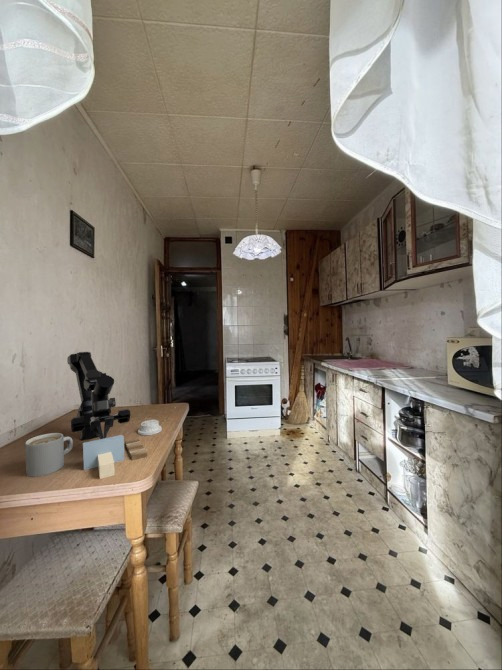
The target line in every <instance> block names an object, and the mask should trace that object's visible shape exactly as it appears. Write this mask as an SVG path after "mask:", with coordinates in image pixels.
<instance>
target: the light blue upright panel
mask: <svg viewBox="0 0 502 670" xmlns="http://www.w3.org/2000/svg"><path fill="white" fill-rule="evenodd" d="M82 449H83V450H82V451H83V452H82V453H83V456H82V457H83V458H82V459H83V470H84V471H86V470H90V469H94V468H98V475H99V479H100V480H101V479H105V478H110V477H113V476H116V474H115V473H116V472H115V463H118V462H119V463H120V462H123V461H125V436H124V435H123V434H120V435H115V436H114V435H113V436H110V437H109V436H108V437H106V438H104V439H100V438H99V439H95V440H91V441H85V442H83V443H82Z"/></svg>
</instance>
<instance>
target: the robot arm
mask: <svg viewBox="0 0 502 670" xmlns="http://www.w3.org/2000/svg"><path fill="white" fill-rule="evenodd" d="M66 359H67V365H69V368H70V370H71V371H72V372H73V373H74V374H75V377H76V383H77V387H78V392H79V396H80V402H81V403H80V405H79V407H78V411H77V414H76V416H74V417H72V418H71V419H70V426H71V427H70V429H71V431H70V432H71V433H76V432H77V433H79V432H81V434H80V437H79V438H80V441H84V440H89V439H94V438H99V439H104V438H108V437H107V436H108V433H109V431H110V429H111V428H113V427H114V421H117V423H118V424H125V423H129V422H130V419H131V416H132V415H131V410H130V409H129V408H126V409H120V410H118V411H117V413H116V414H111V413H112V408H115V407H116V405H117V404H116V397H110V398H109V395H110V394H111V391H112V389H113V386H114V384H115V379H114V378H113V376H110V375H108V374H107V373H106V372H102V371H100V370H98V369H97V367H96V363H95V362H94V360H93V359H92V353H91V352H90V351H79V352H76V353H70V354H69V355H68V356H67V358H66ZM101 423H104V428H103V427H102V424H101Z"/></svg>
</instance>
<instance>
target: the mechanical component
mask: <svg viewBox="0 0 502 670" xmlns="http://www.w3.org/2000/svg"><path fill="white" fill-rule="evenodd" d="M159 423H160V422H159V420H157V419H149V420H148V419H147V420H144V421H142V422H141V423H140V427H139V428H138V430H137V434H138V435H140V436H151V435H156V434H158V433H160V432H162V429H163V428H162V425H160V424H159Z"/></svg>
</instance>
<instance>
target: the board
mask: <svg viewBox="0 0 502 670" xmlns="http://www.w3.org/2000/svg"><path fill="white" fill-rule="evenodd" d="M124 446H125V447H126V450H127V451H128V455H129V457H130V459H131V461H134V460H138V459H142V458H146V457H148V453H147V450H146V448H145V447H144V446H143V444H142V442H141V441H140V439H139V438H134V439H129V440H124Z"/></svg>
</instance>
